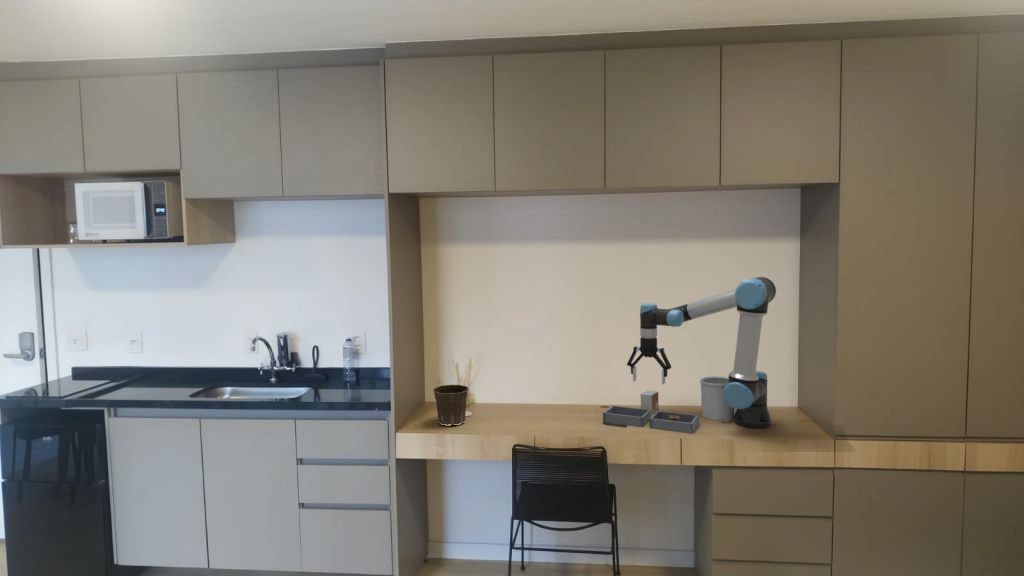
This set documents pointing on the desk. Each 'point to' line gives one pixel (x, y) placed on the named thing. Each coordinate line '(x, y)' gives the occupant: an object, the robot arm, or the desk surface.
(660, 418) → the bin
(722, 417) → the utensil holder
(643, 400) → the small box
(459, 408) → the plant pot
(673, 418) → the walnut block
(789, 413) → the desk surface
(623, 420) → the bin
